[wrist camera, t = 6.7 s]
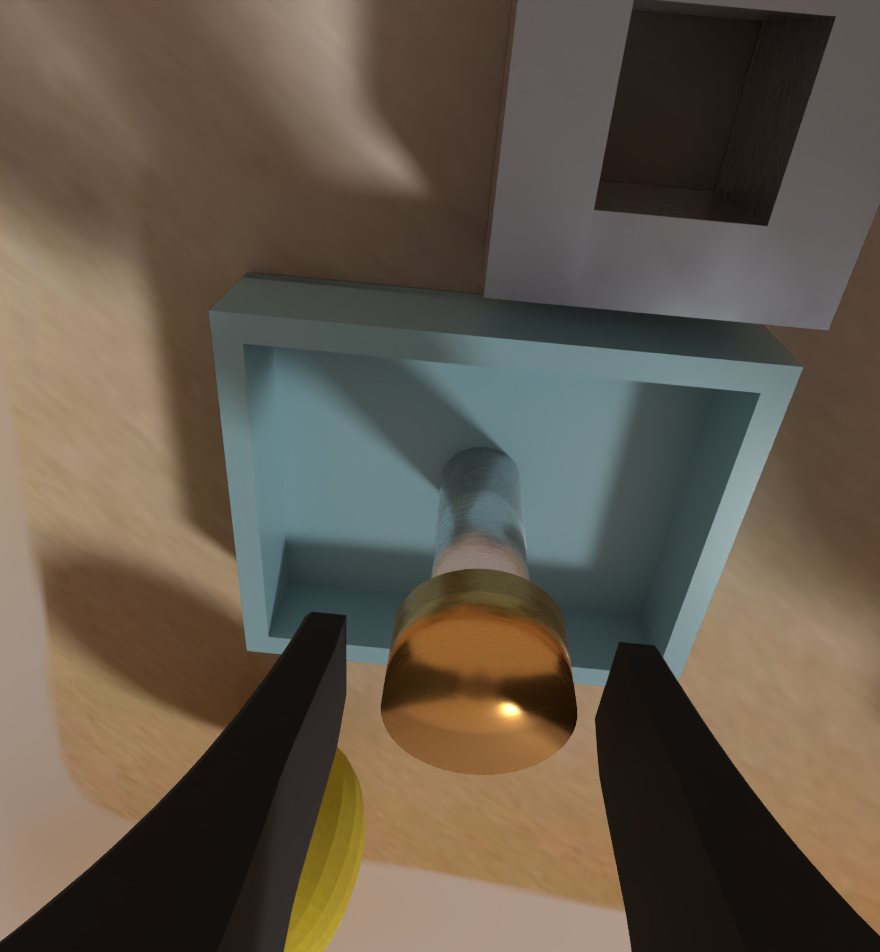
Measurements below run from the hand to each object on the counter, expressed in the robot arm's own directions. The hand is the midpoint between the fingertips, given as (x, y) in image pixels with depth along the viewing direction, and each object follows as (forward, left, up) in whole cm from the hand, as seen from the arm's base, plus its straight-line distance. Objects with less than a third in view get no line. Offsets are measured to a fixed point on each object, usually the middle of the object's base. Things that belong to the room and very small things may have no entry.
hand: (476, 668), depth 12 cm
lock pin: (0, 0, -6) cm, 6 cm away
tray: (0, 0, -6) cm, 6 cm away
